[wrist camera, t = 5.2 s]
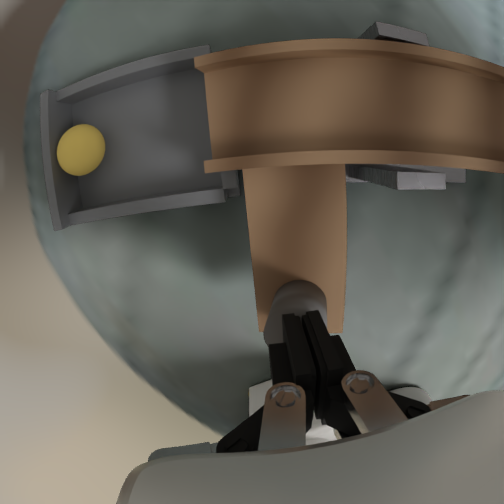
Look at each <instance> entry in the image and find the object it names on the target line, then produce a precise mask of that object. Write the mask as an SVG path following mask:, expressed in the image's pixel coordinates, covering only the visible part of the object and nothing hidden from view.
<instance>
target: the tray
mask: <svg viewBox="0 0 504 504" xmlns="http://www.w3.org/2000/svg"><path fill="white" fill-rule="evenodd" d="M209 53H212V51H211V48H210V45H203V46H197V47H191V48H186V49H181V50H176V51H172V52H167V53H163V54H159V55H155V56H151V57H147V58H144V59H140V60H137V61H133V62H130V63H127V64H124V65H121V66H118V67H115V68H112V69H109V70H106V71H103V72H101V73H98V74H95V75H93V76H90V77H88V78H85V79H83V80H81V81H78V82H76V83H74V84H71V85H69V86H67V87H65V88H63V89H60V90H58V91H52V90H46V91H44V92H43V93H41V94H40V129H41V146H42V158H43V167H44V176H45V183H46V190H47V196H48V202H49V208H50V213H51V218H52V223H53V227H54V231H57V230H62V229H64V228H66V227H68V226H71V225H76V224H81V223H86V222H92V221H97V220H103V219H109V218H115V217H121V216H127V215H133V214H139V213H146V212H153V211H160V210H167V209H174V208H181V207H189V206H197V205H205V204H214V203H223V202H225V201H226V199H227V198H228V197H234V196H240V188H239V179H238V170H230V171H220V172H212V173H205V169H204V161H206V160H213V159H212V150H211V140H210V131H209V121H208V111H207V100H206V89H205V77H204V73H203V72H201V71H200V70H198V69H196V68H195V64H194V57H197V56H201V55H205V54H209ZM80 124H88V125H91V126H94V127H95V128H97V129H98V130H99V131H100V132H101V134H102V135H103V137H104V140H105V154H104V157H103V159H102V161H101V163H100V164H99V166H98V167H97V168H96V169H95V170H93V171H92V172H90V173H88V174H86V175H82V176H75V175H71V174H69V173H67V172H65V171H64V170H63V169H62V168H61V166H60V164H59V162H58V159H57V147H58V143H59V141H60V139H61V137H62V136H63V134H64V133H65V132H66V131H67V130H69V129H70V128H72V127H74V126H76V125H80Z"/></svg>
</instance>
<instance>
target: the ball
mask: <svg viewBox="0 0 504 504" xmlns="http://www.w3.org/2000/svg"><path fill="white" fill-rule="evenodd" d="M104 154H105V140H104V137H103V135H102V134H101V132H100V131H99V130H98V129H97V128H95V127H94V126H91V125H88V124H80V125H76V126H74V127H72V128H70V129H69V130H67V131H66V132H65V133H64V134H63V136H62V137H61V139H60V141H59V143H58V147H57V159H58V162H59V164H60V166H61V168H62V169H63V170H64V171H65V172H67V173H69V174H71V175H75V176H82V175H86V174H88V173H90V172H92V171H93V170H95V169H96V168H97V167H98V166H99V164H100V163H101V161H102V159H103V157H104Z"/></svg>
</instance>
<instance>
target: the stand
mask: <svg viewBox="0 0 504 504" xmlns="http://www.w3.org/2000/svg"><path fill="white" fill-rule="evenodd" d="M358 39H371V40H384V41H394V42H403V43H410V44H417V45H423V46H428V47H430V46H429V42H428V39H427V35H426V34H425V33H422V32H418V31H415V30H411V29H407V28H404V27H400V26H395V25H391V24H386V23H382V22H377V21H376V22H375V23H374V24H373V25H372V26H370V27H369V28H368V29H367V30H366V31H365V32H364V33H363V34H362V35H361V36H360V37H359V38H358ZM345 176H346V183H348V182H371V183H375V184H379V185H382V186H386V187H390V188H394V189H397V190H407V189H444V190H445V189H446V182H458V183H466V169H462V168H451V167H439V166H424V165H403V164H345Z"/></svg>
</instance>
